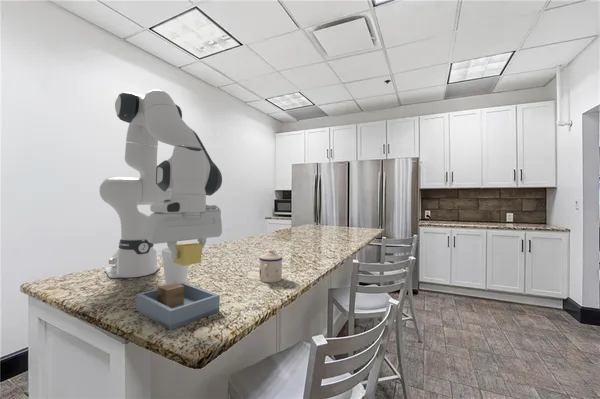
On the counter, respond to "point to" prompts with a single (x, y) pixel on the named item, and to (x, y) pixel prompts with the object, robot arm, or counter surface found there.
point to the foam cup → (173, 269)
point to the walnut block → (171, 294)
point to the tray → (179, 306)
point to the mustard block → (188, 253)
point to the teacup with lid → (270, 267)
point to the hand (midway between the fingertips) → (187, 256)
